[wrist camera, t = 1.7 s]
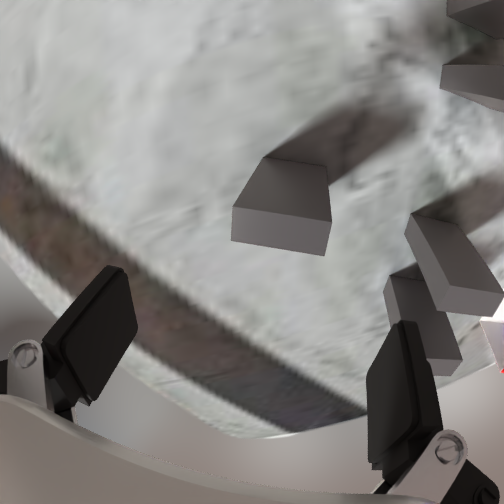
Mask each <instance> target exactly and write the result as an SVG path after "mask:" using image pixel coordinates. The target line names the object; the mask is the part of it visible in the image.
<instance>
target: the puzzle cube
mask: <svg viewBox="0 0 504 504" xmlns="http://www.w3.org/2000/svg"><path fill="white" fill-rule="evenodd" d="M503 291H504V289H503ZM479 322H480V325H481V327H482V329H483V332H484V334H485V336H486V338H487V341H488V343H489V346H490V348H491V350H492V353H493V356H494V358H495V361H496V364H497V366H498V369H499V372H500V373H504V298H503V300H502V302H501V304H500V305H499V307H498V309H497V310H496V312H495V314H494V315H493V317H485V316H483V317H482V318H481V319H480V320H479Z"/></svg>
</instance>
